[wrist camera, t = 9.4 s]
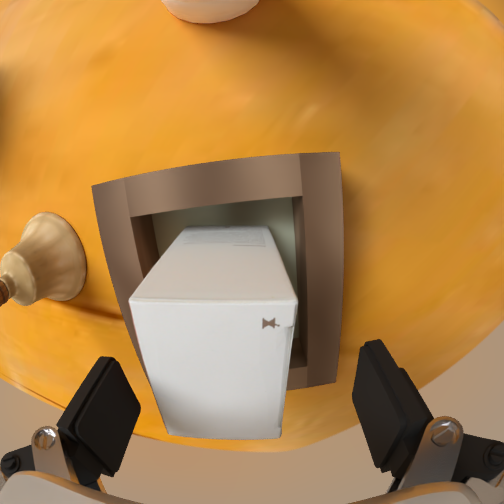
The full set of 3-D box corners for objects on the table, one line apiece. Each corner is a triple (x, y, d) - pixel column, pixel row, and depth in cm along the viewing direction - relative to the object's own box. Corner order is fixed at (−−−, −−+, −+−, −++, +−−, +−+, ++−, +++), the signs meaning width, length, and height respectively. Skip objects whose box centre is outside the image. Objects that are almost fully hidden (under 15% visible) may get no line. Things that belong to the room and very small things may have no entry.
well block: (317, 154, 18) (339, 152, 13) (322, 348, 22) (335, 382, 18) (122, 180, 18) (91, 185, 13) (166, 361, 23) (155, 396, 18)
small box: (186, 224, 18) (122, 293, 8) (269, 223, 18) (301, 296, 8) (194, 326, 20) (165, 437, 10) (266, 327, 21) (281, 441, 10)
